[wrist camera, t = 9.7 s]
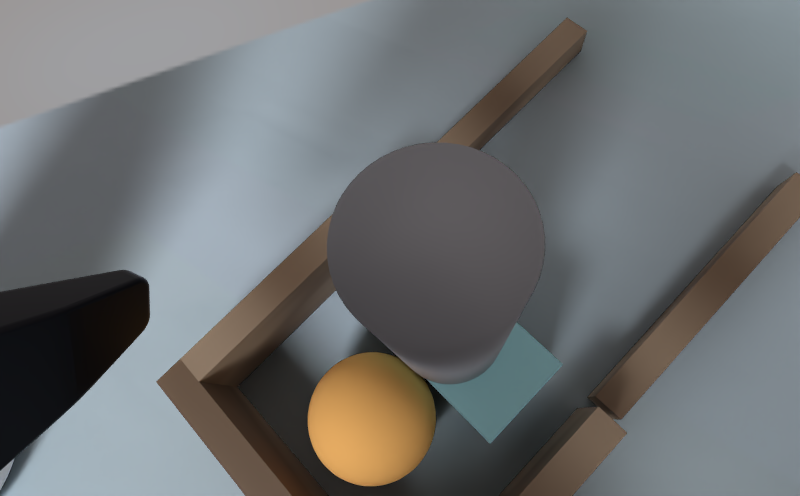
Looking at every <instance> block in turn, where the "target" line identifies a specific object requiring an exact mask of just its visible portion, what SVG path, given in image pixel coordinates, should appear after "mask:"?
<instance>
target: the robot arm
mask: <svg viewBox="0 0 800 496" xmlns="http://www.w3.org/2000/svg"><path fill="white" fill-rule="evenodd" d="M149 318H150V299H149V284H148V282H147V280H146V279H145V278H143V277H141V276H139V275H137V274H135V273H133V272H130V271H127V270H118V271H113V272H107V273H102V274H96V275H91V276H85V277H80V278H74V279H69V280H63V281H58V282H52V283H47V284H41V285H36V286H30V287H25V288H19V289H13V290H8V291H2V292H0V471H1V470H2V469H3V468H4V467H5V466H6V465H8V464H9V463H10V462H11V461H12V460H13V459H14V458H15V457H16V456H18V455H19V454H20V453H21V452H22V451H23V450H24V449H25V448H26V447H28V446H29V445H30V444H31V443H32V442H33V441H34V440H35V439H37V438H38V437H39V436H40V435H41V434H42V433H43V432H44V431H45V430H47V429H48V428H49V427H50V426H51V425H52V424H53V423H54V422H55V421H57V420H58V419H59V418H60V417H61V416H62V415H63V414H64V413H66V412H67V411H68V410H69V409H70V408H71V407H72V406H73V405H74V404H75V403H76V402H77V401H78V400H79V399H80V398H81V397H82V396H83V395H84V394H85V393H86V392H87V391H88V390H89V389H90V388H91V387H92V386H93V385H94V384H95V383H96V382H97V381H98V380H99V378H100V377H101V376H102V375H103V374H104V373H105V372H106V371H107V370H108V369H109V368H110V367H111V365H112V364H113V363H114V362H115V361H116V360H117V359H118V358H119V357H120V356H121V355H122V354H123V352H124V351H125V350H126V349H127V348H128V347H129V346H130V345H131V344H132V343H133V342H134V341H135V339H136V338H137V337H138V336H139V335H140V334H141V333H142V332H143V331H144V329H145V328H146V326H147V324H148V322H149Z"/></svg>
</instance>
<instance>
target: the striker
mask: <svg viewBox="0 0 800 496" xmlns="http://www.w3.org/2000/svg"><path fill="white" fill-rule="evenodd" d="M544 255H545V234H544V227H543V222H542V219H541V215H540V212H539V209H538V207H537V205H536V202H535V200H534V198H533V196H532V195H531V193H530V192H529V190H528V188H527V187H526V185H525V184H524V183H523V182H522V181H521V179H520V178H519V177H518V176H517V175H516V174H515V173H514V172H513V171H512V170H511V169H510V168H508V167H507V166H506V165H505V164H503V163H502V162H500V161H499V160H497V159H496V158H494V157H492V156H490V155H488V154H487V153H485V152H482V151H479V150H477V149H474V148H471V147H468V146H464V145H460V144H452V143H423V144H416V145H412V146H408V147H404V148H401V149H399V150H396V151H393V152H391V153H389V154H387V155H385V156H383V157H381V158H379V159H378V160H376V161H375V162H373V163H372V164H370V165H369V166H368V167H366V168H365V169H364V170H363V171H362V172H360V173H359V174H358V175H357V177H356V178H355V179H354V180H353V181H352V182H351V183H350V184H349V186H348V187H347V188H346V190H345V191H344V193H343V194H342V196H341V198H340V200H339V201H338V203H337V205H336V207H335V210H334V212H333V215H332V218H331V222H330V226H329V229H328V237H327V260H328V266H329V271H330V275H331V278H332V281H333V284H334V286H335V288H336V291H337V293H338V295H339V297H340V298H341V300H342V301H343V303H344V304H345V306H346V307H347V309H348V310H349V311H350V312H351V313H352V315H353V316H354V317H355V318H356V319H357V320H358V321H359V322H360V323H362V324H363V325H364V326H365V327H366V328H367V329H368V330H369V331H370V332H371V333H373V334H374V335H375V336H376V337H377V338H378V339H379V340H380V341H381V342H382V343H383V344H385V345H386V346H387V347H388V348H389V349H390V350H391V351H392V352H393V353H394V354H396V355H397V356H398V357H399V358H400V359H401V360H402V361H403V362H404V363H405V364H407V365H408V366H409V367H410V368H411V369H412V370H413V371H414V372H415V373H417V374H418V375H420V376H421V377H423V378H425V379H427V380H428V381H429V382H430V383H431V384H432V386H433V387H434V388H435V389H436V390H437V391H438V392H439V393H440V394H441V395H442V396H443V397H444V398H445V399H446V400H447V401H448V402H449V403H450V404H451V405H452V406H453V407H454V408H455V409H456V410H457V411H458V412H459V413H460V414H461V415H462V416H463V417H464V418H465V419H466V420H467V421H468V422H469V423H470V424H471V425H472V426H473V427H474V428H475V429H476V430H477V431H478V432H479V433H480V434H481V435H482V436H483V437H484V438H485V439H486V440H487V441H488V442H489V443H490V444H491V443H492V441H493V440H494V439H495V438H496V437H497V436H498V435H499V434H500V433H501V432H502V431H503V430H504V428H505V427H506V426H507V425H508V424H509V423H510V422H511V421H512V420H513V419H514V418H515V416H516V415H517V414H518V413H519V412H520V411H521V410H522V409H523V408H524V407H525V406H526V404H527V403H528V402H529V401H530V400H531V399H532V398H533V397H534V396H535V395H536V394H537V393H538V391H539V390H540V389H541V388H542V387H543V386H544V385H545V384H546V383H547V382H548V381H549V379H550V378H551V377H552V376H553V375H554V374H555V373H556V372H557V371H558V370H559V369H560V367H561V366H562V365H563V364H562V363H561V362H560V361H559V360H558V359H557V358H556V357H554V356H553V355H552V354H551V353H550V352H549V351H548V350H547V349H546V348H545V347H543V346H542V345H541V344H540V343H539V342H538V341H537V340H536V339H535V338H534V337H533V336H531V335H530V334H529V333H528V332H527V331H526V330H525V329H524V328H523V327H522V326H520V325H519V324H518V323H517V320H518V319H519V317H520V315H521V313H522V311H523V310H524V308H525V306H526V304H527V302H528V301H529V299H530V297H531V295H532V293H533V292H534V289H535V287H536V285H537V283H538V280H539V278H540V274H541V271H542V267H543V262H544Z"/></svg>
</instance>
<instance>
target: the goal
mask: <svg viewBox="0 0 800 496" xmlns="http://www.w3.org/2000/svg"><path fill="white" fill-rule="evenodd" d="M586 33H587V31H586V30H585V29H583V28H582V27H580V26H579V25H577V24H576V23H574V22H573V21H571V20H570V19H568V18H566V19H565V20H564V21H563V22H562V23H561V24H560V25H559V26H558V27H557V28H556V29H555V30H554V31H553V32H551V33H550V34H549V35H548V36H547V37H546V38H545V39H544V40H543V41H542V42H541V43H540V44H539V45H538V46H537V47H536V48H535V49H534V50H533V51H532V52H531V53H530V54H529V55H528V56H526V57H525V58H524V59H523V60H522V61H521V62H520V63H519V64H518V65H517V66H516V67H515V68H514V69H513V70H512V71H511V72H510V73H509V74H508V75H507V76H506V77H505V78H504V79H502V80H501V81H500V82H499V83H498V84H497V85H496V86H495V87H494V88H493V89H492V90H491V91H490V92H489V93H488V94H487V95H486V96H485V97H484V98H483V99H482V100H481V101H480V102H479V103H477V104H476V105H475V106H474V107H473V108H472V109H471V110H470V111H469V112H468V113H467V114H466V115H465V116H464V117H463V118H462V119H461V120H460V121H459V122H458V123H457V124H456V125H455V126H454V127H452V128H451V129H450V130H449V131H448V132H447V133H446V134H445V135H444V136H443V137H442V138H441V139H440V140H439V141H438V142H437V143H452V144H460V145H464V146H468V147H471V148H474V149H477V150H480V149H481V148H482V147H483V146H484V145H485V144H486V143H487V142H488V141H489V140H490V139H491V138H492V137H493V136H494V135H495V134H496V133H497V132H498V131H499V130H500V129H501V128H502V127H503V126H504V125H505V124H507V123H508V122H509V121H510V120H511V119H512V118H513V117H514V116H515V115H516V114H517V113H518V112H519V111H520V110H521V109H522V108H523V107H524V106H525V105H526V104H527V103H528V102H529V101H530V100H531V99H532V98H533V97H534V96H535V95H536V94H537V93H538V92H539V91H540V90H541V89H542V88H543V87H544V86H545V85H546V84H547V83H548V82H549V81H551V80H552V79H553V78H554V77H555V76H556V75H557V74H558V73H559V72H560V71H561V70H562V69H563V68H564V67H565V66H566V65H567V64H568V63H569V62H570V61H571V60H572V59H573V58H574V57H575V56H576V55H577V54H578V53H579V52H580V51H581V49H582V46H583V43H584V39H585V36H586ZM332 215H333V214H332ZM332 215H331V216H330V217H329V218H328V219H327V220H326V221H325V222H324V223H323V224H322V225H321V226H320V227H319V228H318V229H317V230H315V231H314V232H313V233H312V234H311V235H310V236H309V237H308V238H307V239H306V240H305V241H304V242H303V243H302V244H301V245H300V246H299V247H298V248H297V249H295V250H294V251H293V252H292V253H291V254H290V255H289V256H288V257H287V258H286V259H285V260H284V261H283V262H282V263H281V264H280V265H279V266H278V267H277V268H275V269H274V270H273V271H272V272H271V273H270V274H269V275H268V276H267V277H266V278H265V279H264V280H263V281H262V282H261V283H260V284H259V285H258V286H257V287H255V288H254V289H253V290H252V291H251V292H250V293H249V294H248V295H247V296H246V297H245V298H244V299H243V300H242V301H241V302H240V303H239V304H238V305H237V306H235V307H234V308H233V309H232V310H231V311H230V312H229V313H228V314H227V315H226V316H225V317H224V318H223V319H222V320H221V321H220V322H219V323H218V324H217V325H215V326H214V327H213V328H212V329H211V330H210V331H209V332H208V333H207V334H206V335H205V336H204V337H203V338H202V339H201V340H200V341H199V342H198V343H197V344H195V345H194V346H193V347H192V348H191V349H190V350H189V351H188V352H187V353H186V354H185V355H184V356H183V357H182V358H181V359H180V360H179V361H178V362H177V363H175V364H174V365H173V366H172V367H171V368H170V369H169V370H168V371H167V372H166V373H165V374H164V375H163V376H162V377H161V378H160V379H159V380H158V381H157V383H158V385H159V386H160V387H161V389H162V390H163V391H164V392H165V394H166V395H167V396H168V397H169V399H170V400H171V401H172V403H173V404H174V405H175V406H176V408H177V409H178V410H179V412H180V413H181V414H182V415H183V417H184V418H185V419H186V420H187V422H188V423H189V424H190V426H191V427H192V428H193V429H194V431H195V432H196V433H197V434H198V436H199V437H200V438H201V440H202V441H203V442H204V443H205V445H206V446H207V447H208V449H209V450H210V451H211V452H212V454H213V455H214V456H215V457H216V459H217V460H218V461H219V463H220V464H221V465H222V466H223V468H224V469H225V470H226V471H227V473H228V474H229V475H230V477H231V478H232V479H233V480H234V482H235V483H236V484H237V486H238V487H239V488H240V489H241V491H242V492H243V493H244V494H245V496H329V495H328V494H327V493H326V492H325V491H324V490H323V488H322V487H321V486H320V485H319V484H318V482H317V481H316V480H315V479H314V478H313V476H312V475H311V474H310V473H309V472H308V471H307V469H306V468H305V467H304V466H303V465H302V463H301V462H300V461H299V460H298V459H297V457H296V456H295V455H294V454H293V453H292V451H291V450H290V449H289V448H288V447H287V446H286V444H285V443H284V442H283V441H282V440H281V438H280V437H279V436H278V435H277V434H276V432H275V431H274V430H273V429H272V428H271V426H270V425H269V424H268V423H267V422H266V421H265V419H264V418H263V417H262V416H261V415H260V413H259V412H258V411H257V410H256V409H255V407H254V406H253V405H252V404H251V403H250V401H249V400H248V399H247V398H246V397H245V396H244V394H243V393H242V392H241V391H240V390H239V388H238V387H237V386H238V385H239V384H240V383H242V382H243V381H244V380H245V379H246V378H247V377H248V376H249V375H250V374H251V373H252V372H253V371H254V370H255V369H256V368H257V367H258V366H259V365H260V364H261V363H262V362H263V361H264V360H265V359H266V358H267V357H268V356H269V355H270V354H271V353H272V352H273V351H274V350H275V349H276V348H277V347H278V346H279V345H280V344H281V343H282V342H283V341H284V340H286V339H287V338H288V337H289V336H290V335H291V334H292V333H293V332H294V331H295V330H296V329H297V328H298V327H299V326H300V325H301V324H302V323H303V322H304V321H305V320H306V319H307V318H308V317H309V316H310V315H311V314H312V313H313V312H314V311H315V310H316V309H317V308H318V307H319V306H320V305H321V304H322V303H323V302H324V301H325V300H326V299H327V298H328V297H330V296H331V295H332V294H333V293H334V292H335V291H336V288H335V286H334V284H333V281H332V278H331V275H330V271H329V266H328V260H327V237H328V229H329V226H330V222H331V218H332ZM799 217H800V174H798V173H797V172H796V173H795V174H793V175H792V176H791V177H789V178H788V179H787V180H785V181H784V182H783V183H781V184H780V185H778V186H777V187H776V188H775V189H774V191H773V192H772V193H771V194H770V195H769V196H768V197H767V198H766V199H765V200H764V202H763V203H762V204H761V205H760V206H759V207H758V208H757V209H756V210H755V212H754V213H753V214H752V215H751V216H750V217H749V218H748V219H747V220H746V222H745V223H744V224H743V225H742V226H741V227H740V228H739V229H738V230H737V232H736V233H735V234H734V235H733V236H732V237H731V238H730V239H729V240H728V242H727V243H726V244H725V245H724V246H723V247H722V248H721V249H720V250H719V252H718V253H717V254H716V255H715V256H714V257H713V258H712V259H711V260H710V262H709V263H708V264H707V265H706V266H705V267H704V268H703V269H702V270H701V272H700V273H699V274H698V275H697V276H696V277H695V278H694V279H693V280H692V282H691V283H690V284H689V285H688V286H687V287H686V288H685V289H684V290H683V292H682V293H681V294H680V295H679V296H678V297H677V298H676V299H675V300H674V302H673V303H672V304H671V305H670V306H669V307H668V308H667V309H666V310H665V312H664V313H663V314H662V315H661V316H660V317H659V318H658V319H657V320H656V321H655V323H654V324H653V325H652V326H651V327H650V328H649V329H648V330H647V331H646V333H645V334H644V335H643V336H642V337H641V338H640V339H639V340H638V341H637V343H636V344H635V345H634V346H633V347H632V348H631V349H630V350H629V351H628V353H627V354H626V355H625V356H624V357H623V358H622V359H621V360H620V361H619V363H618V364H617V365H616V366H615V367H614V368H613V369H612V370H611V371H610V373H609V374H608V375H607V376H606V377H605V378H604V379H603V380H602V381H601V383H600V384H599V385H598V386H597V387H596V388H595V389H594V390H593V391H592V393H591V394H590V395H589V396H588V397H587V398H589V399H590V400H591V401H592V402H593V403H594V404H595V405H596V406H597V407H586V408H577V409H576V410H575V411H574V413H573V414H572V415H571V416H570V417H569V418H568V419H567V420H566V421H565V423H564V424H563V425H562V426H561V427H560V428H559V429H558V430H557V431H556V432H555V434H554V435H553V436H552V437H551V438H550V439H549V440H548V441H547V442H546V444H545V445H544V446H543V447H542V448H541V449H540V450H539V451H538V452H537V454H536V455H535V456H534V457H533V458H532V459H531V460H530V461H529V462H528V464H527V465H526V466H525V467H524V468H523V469H522V470H521V471H520V472H519V474H518V475H517V476H516V477H515V478H514V479H513V480H512V481H511V482H510V484H509V485H508V486H507V487H506V488H505V489H504V490H503V491H502V492H501V494H500V495H499V496H573V494H574V493H575V492H576V491H577V490H578V489H579V488H580V486H581V485H582V484H583V483H584V482H585V481H586V480H587V478H588V477H589V476H590V475H591V474H592V473H593V472H594V470H595V469H596V468H597V467H598V466H599V465H600V464H601V462H602V461H603V460H604V459H605V458H606V457H607V456H608V454H609V453H610V452H611V451H612V450H613V449H614V448H615V447H616V445H617V444H618V443H619V442H620V441H621V440H622V439H623V437H624V436H625V435H626V434H627V432H626V431H625V430H624V429H622V428H621V427H620V426H619V425H618V424H617V423H616V422H615V421H614V420H613V419H622V418H623V417H624V416H625V415H626V413H627V412H628V411H629V410H630V409H631V408H632V407H633V406H634V404H635V403H636V402H637V401H638V400H639V399H640V398H641V396H642V395H643V394H644V393H645V392H646V391H647V390H648V389H649V387H650V386H651V385H652V384H653V383H654V382H655V381H656V379H657V378H658V377H659V376H660V375H661V374H662V373H663V372H664V370H665V369H666V368H667V367H668V366H669V365H670V364H671V362H672V361H673V360H674V359H675V358H676V357H677V356H678V355H679V353H680V352H681V351H682V350H683V349H684V348H685V347H686V345H687V344H688V343H689V342H690V341H691V340H692V339H693V338H694V336H695V335H696V334H697V333H698V332H699V331H700V330H701V328H702V327H703V326H704V325H705V324H706V323H707V322H708V321H709V319H710V318H711V317H712V316H713V315H714V314H715V313H716V311H717V310H718V309H719V308H720V307H721V306H722V305H723V304H724V302H725V301H726V300H727V299H728V298H729V297H730V296H731V294H732V293H733V292H734V291H735V290H736V289H737V288H738V287H739V285H740V284H741V283H742V282H743V281H744V280H745V279H746V277H747V276H748V275H749V274H750V273H751V272H752V271H753V270H754V268H755V267H756V266H757V265H758V264H759V263H760V262H761V260H762V259H763V258H764V257H765V256H766V255H767V254H768V253H769V251H770V250H771V249H772V248H773V247H774V246H775V245H776V244H777V242H778V241H779V240H780V239H781V238H782V237H783V236H784V234H785V233H786V232H787V231H788V230H789V229H790V228H791V227H792V225H793V224H794V223H795V222H796V221H797V220H798V219H799Z"/></svg>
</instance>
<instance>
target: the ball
mask: <svg viewBox="0 0 800 496" xmlns="http://www.w3.org/2000/svg"><path fill="white" fill-rule="evenodd" d="M435 425H436V410H435V405H434V400H433V396H432V394H431V391H430V389H429V387H428V385H427V383H426V382H425V380H424V379H423V377H421V376H420V375H418V374H417V373H415V372H414V371H413V370H412V369H411V368H410V367H409V366H408V365H407V364H405V363H404V362H403V361H402V360H401V359H400V358H398V357H396V356H393V355H390V354H386V353H380V352H366V353H360V354H356V355H353V356H350V357H348V358H346V359H344V360H342V361H340V362H338V363H337V364H336V365H334V366H333V367H332V368H331V369H330V370H329V371H328V372H327V373H326V374H325V375H324V376H323V377H322V378H321V380H320V381H319V383H318V385H317V386H316V388H315V390H314V393H313V395H312V397H311V401H310V404H309V411H308V430H309V436H310V439H311V443H312V446H313V448H314V450H315V452H316V454H317V456H318V457H319V459H320V460H321V462H322V463H323V464H324V465H325V466H326V467H327V468H328V469H329V470H330V471H331V472H332V473H333V474H335V475H336V476H337V477H339V478H341V479H343V480H345V481H347V482H350V483H353V484H356V485H361V486H381V485H386V484H389V483H392V482H395V481H397V480H399V479H401V478H403V477H404V476H406V475H407V474H409V473H410V472H411V471H412V470H413V469H415V468H416V467H417V466H418V464H419V463H420V462H421V461H422V460H423V458H424V456H425V455H426V453H427V451H428V450H429V448H430V445H431V443H432V440H433V436H434V432H435Z"/></svg>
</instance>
